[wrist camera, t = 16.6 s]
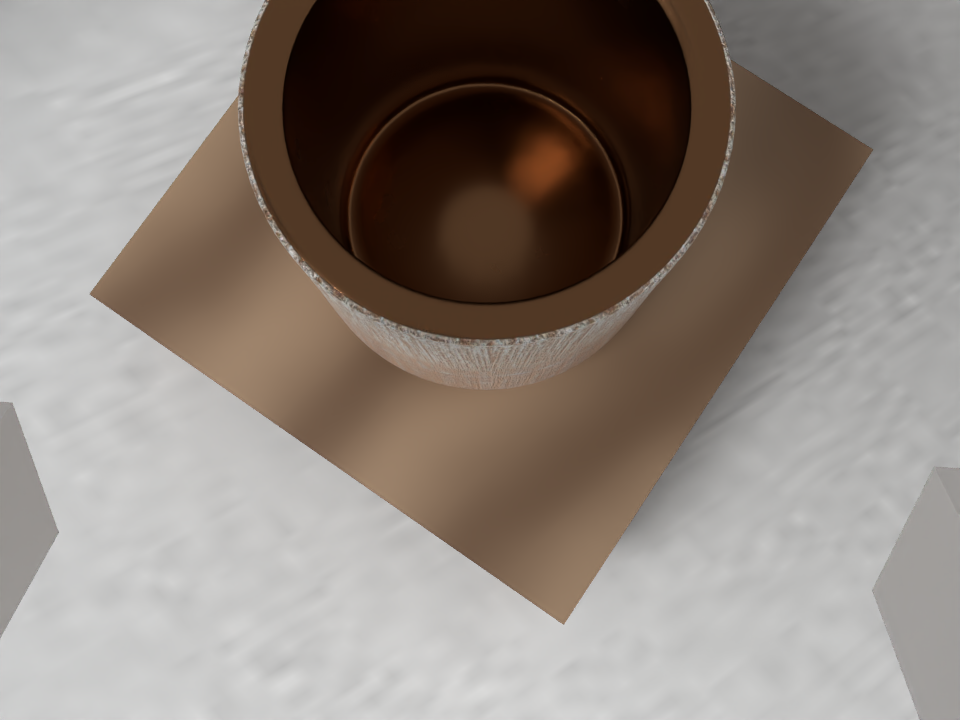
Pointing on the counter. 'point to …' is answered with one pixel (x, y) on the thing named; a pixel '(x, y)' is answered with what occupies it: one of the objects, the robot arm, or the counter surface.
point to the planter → (486, 167)
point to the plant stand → (500, 412)
